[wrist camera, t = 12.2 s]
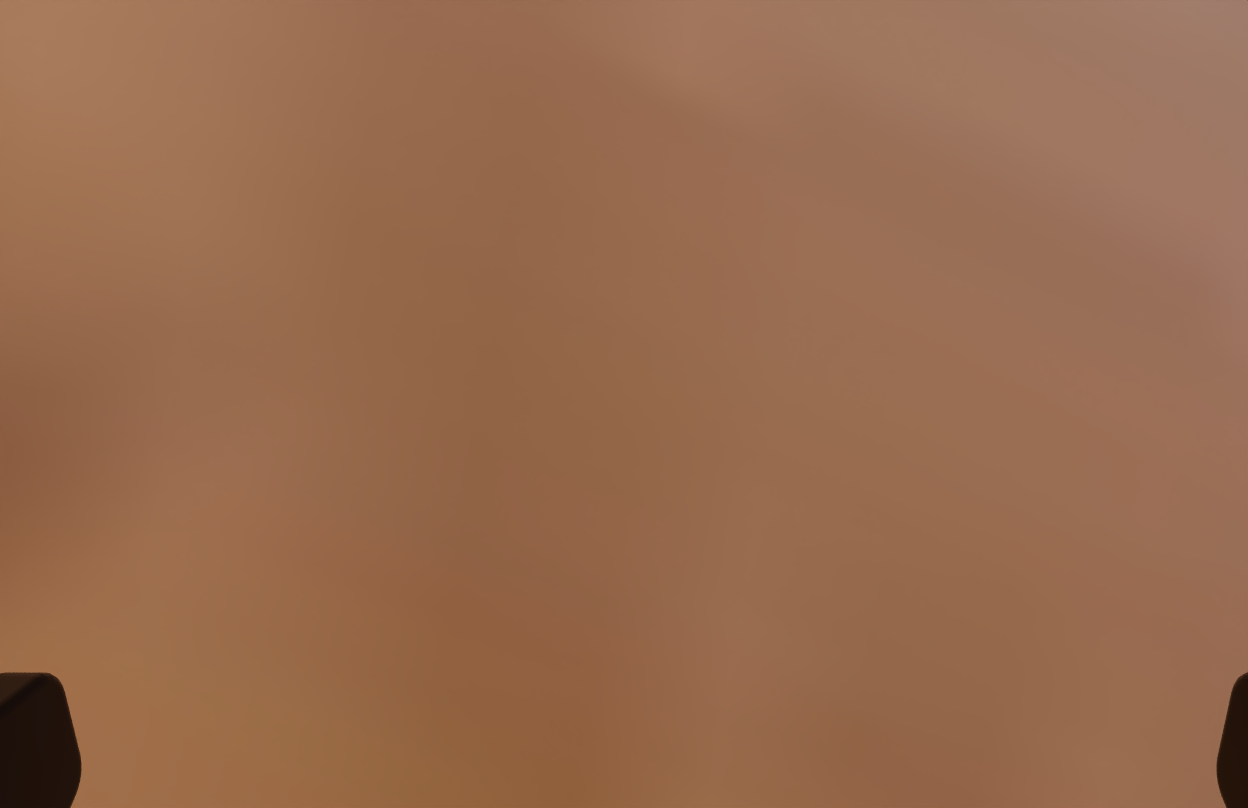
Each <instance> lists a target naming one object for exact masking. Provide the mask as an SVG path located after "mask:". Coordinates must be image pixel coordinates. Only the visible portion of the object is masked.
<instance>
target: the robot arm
mask: <svg viewBox="0 0 1248 808" xmlns="http://www.w3.org/2000/svg"><path fill="white" fill-rule="evenodd" d="M80 778H81V757H80V752H79V748H78V744H77V740H76V736H75V731H74V727H73V723H72V719H71V715H70V711H69V707H68V703H67V699H66V695H65V691H64V688H63V686H62V684H61V682H60V681H59V679H58V678H57V677H55V676H53V675H52V674H50V673H1V674H0V808H70V807H71V805H72V803H73V800H74V798H75V796H76V793H77V790H78V787H79V783H80ZM1217 780H1218V785H1219V789H1220V792H1221V795H1222V798H1223V801H1224V803H1225V805H1226V808H1248V672H1247V673H1245V674H1243V675H1242V676H1240V677H1239V678H1238V679H1237V681H1236V682H1235V684H1234V686H1233V689H1232V692H1231V697H1230V701H1229V706H1228V711H1227V715H1226V720H1225V725H1224V729H1223V734H1222V739H1221V743H1220V748H1219V753H1218V757H1217Z"/></svg>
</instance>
